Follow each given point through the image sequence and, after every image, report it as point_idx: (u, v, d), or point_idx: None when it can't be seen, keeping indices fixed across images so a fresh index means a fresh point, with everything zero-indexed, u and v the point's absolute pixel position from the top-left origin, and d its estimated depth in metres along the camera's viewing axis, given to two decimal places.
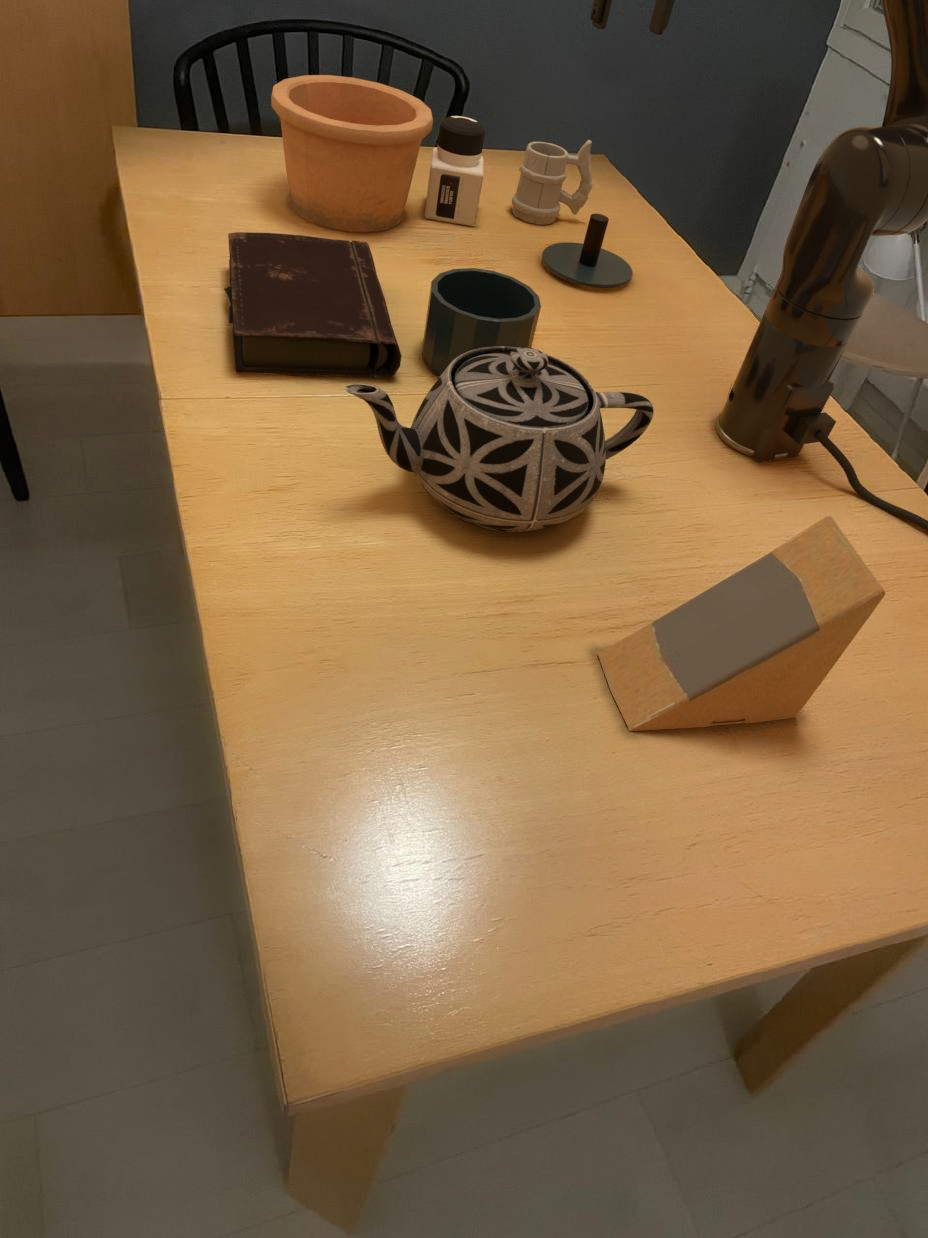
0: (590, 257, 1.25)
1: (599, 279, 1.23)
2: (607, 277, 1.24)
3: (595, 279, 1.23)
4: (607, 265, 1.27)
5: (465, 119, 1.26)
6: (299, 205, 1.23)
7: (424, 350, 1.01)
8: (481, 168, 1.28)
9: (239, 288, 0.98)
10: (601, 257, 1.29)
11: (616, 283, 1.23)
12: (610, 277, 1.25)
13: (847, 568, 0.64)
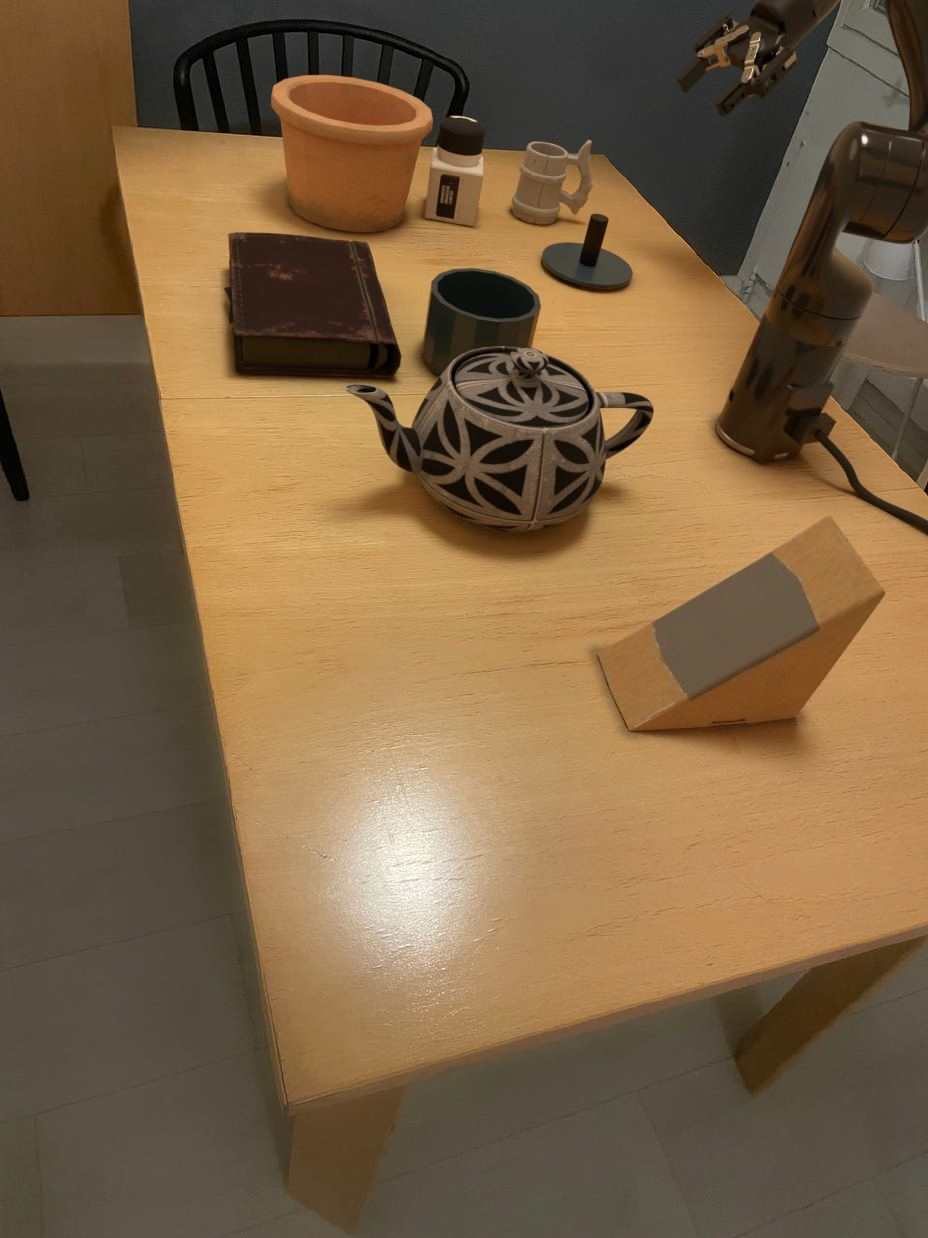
0: (590, 257, 1.25)
1: (599, 279, 1.23)
2: (607, 277, 1.24)
3: (595, 279, 1.23)
4: (607, 265, 1.27)
5: (465, 119, 1.26)
6: (299, 205, 1.23)
7: (424, 350, 1.01)
8: (481, 168, 1.28)
9: (239, 288, 0.98)
10: (601, 257, 1.29)
11: (616, 283, 1.23)
12: (610, 277, 1.25)
13: (847, 568, 0.64)
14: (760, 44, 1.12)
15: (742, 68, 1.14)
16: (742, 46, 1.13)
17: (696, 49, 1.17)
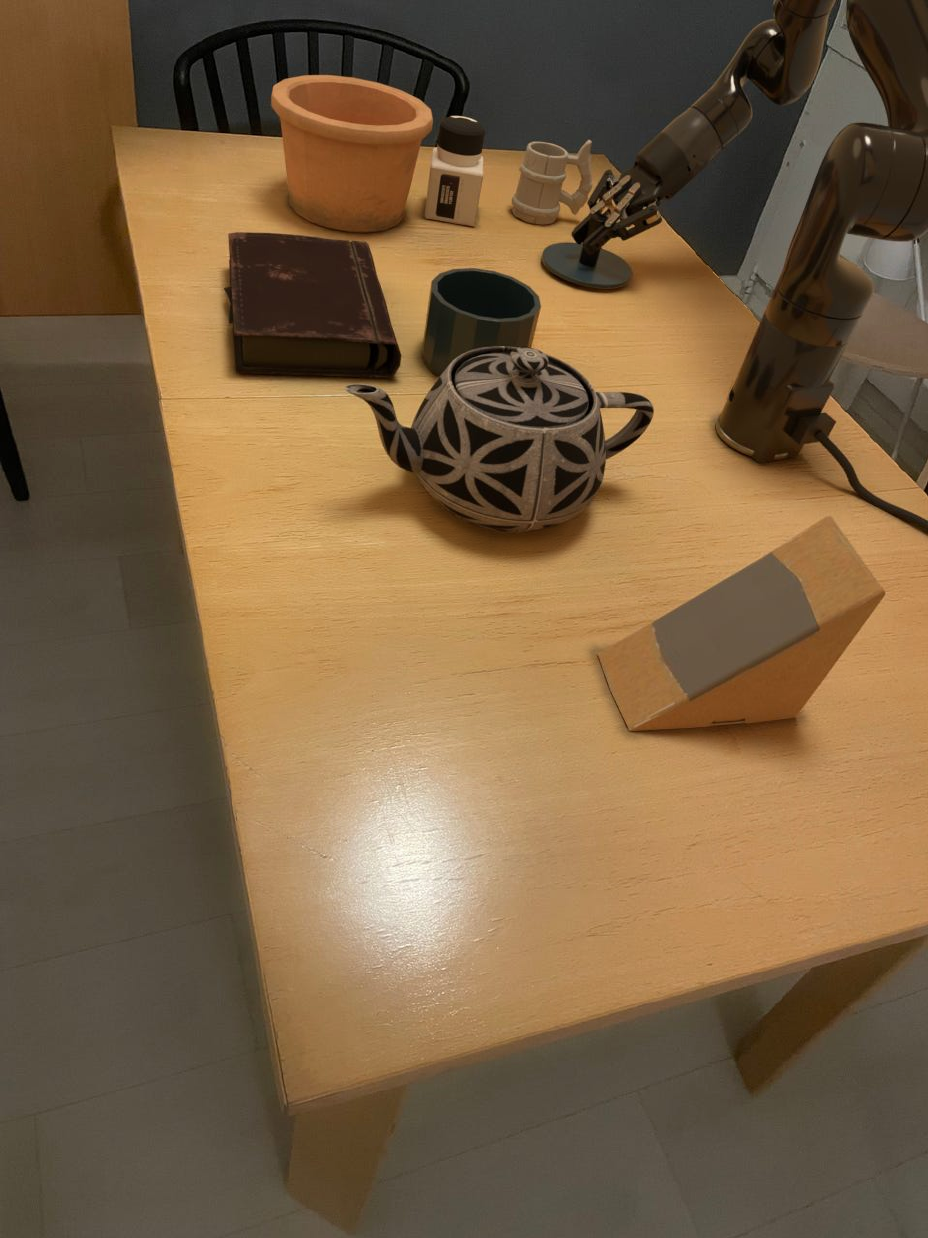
0: (590, 257, 1.25)
1: (599, 279, 1.23)
2: (607, 277, 1.24)
3: (595, 279, 1.23)
4: (607, 265, 1.27)
5: (465, 119, 1.26)
6: (299, 205, 1.23)
7: (424, 350, 1.01)
8: (481, 168, 1.28)
9: (239, 288, 0.98)
10: (601, 257, 1.29)
11: (616, 283, 1.23)
12: (610, 277, 1.25)
13: (847, 568, 0.64)
14: (640, 194, 1.20)
15: (625, 213, 1.22)
16: (625, 194, 1.21)
17: (589, 205, 1.24)
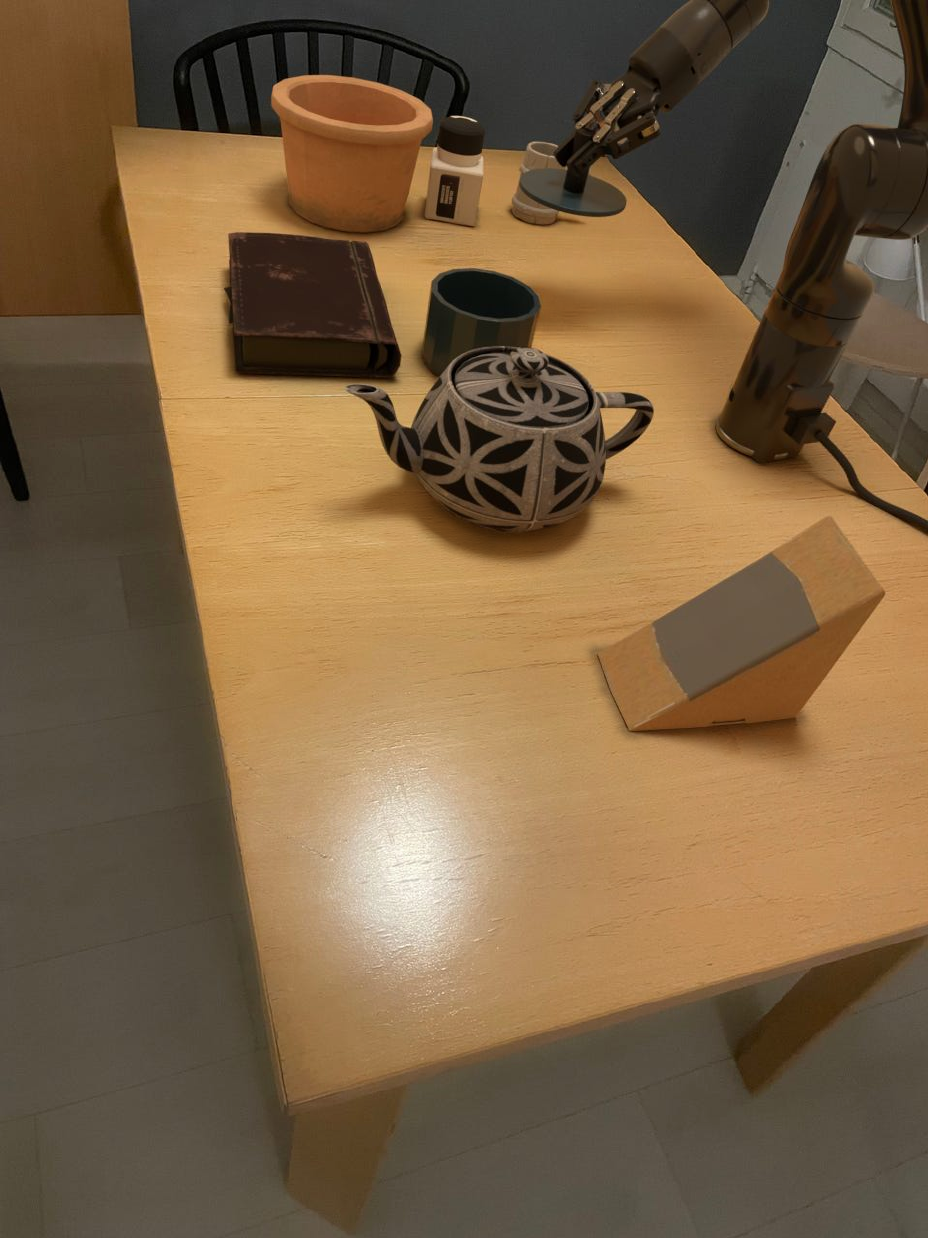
0: (576, 181, 1.06)
1: (586, 206, 1.04)
2: (596, 204, 1.05)
3: (582, 206, 1.04)
4: (596, 192, 1.08)
5: (465, 119, 1.26)
6: (299, 205, 1.23)
7: (424, 350, 1.01)
8: (481, 168, 1.28)
9: (239, 288, 0.98)
10: (590, 184, 1.10)
11: (607, 211, 1.04)
12: (600, 204, 1.05)
13: (847, 568, 0.64)
14: (634, 102, 1.00)
15: None
16: (616, 103, 1.02)
17: (575, 120, 1.05)
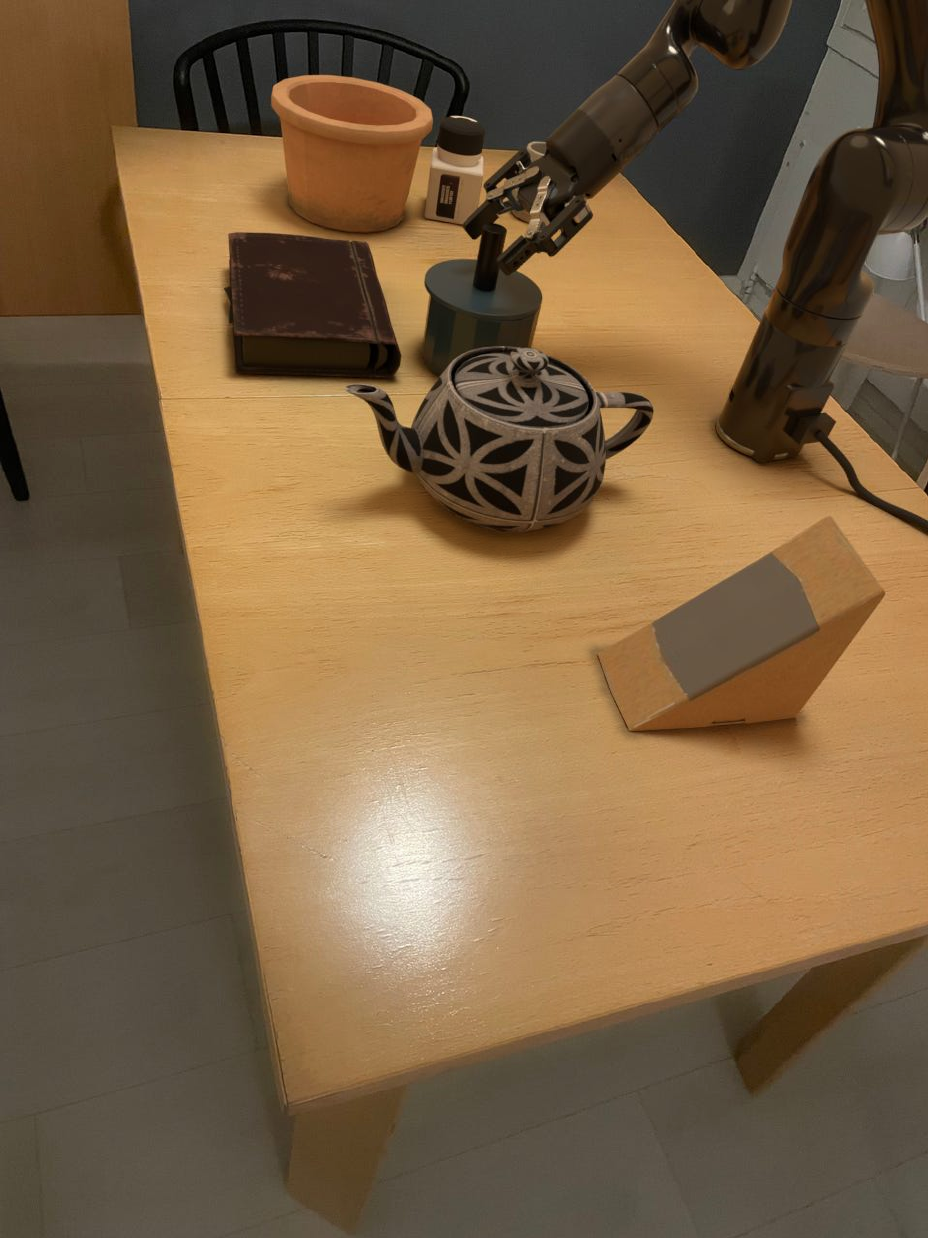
0: (485, 279, 0.96)
1: (495, 308, 0.95)
2: (507, 306, 0.96)
3: (490, 308, 0.95)
4: (510, 289, 0.99)
5: (465, 119, 1.26)
6: (299, 205, 1.23)
7: (424, 350, 1.01)
8: (481, 168, 1.28)
9: (239, 288, 0.98)
10: (504, 279, 1.00)
11: (517, 314, 0.95)
12: (511, 305, 0.96)
13: (847, 568, 0.64)
14: (550, 191, 0.90)
15: None
16: (532, 191, 0.92)
17: (486, 189, 0.96)
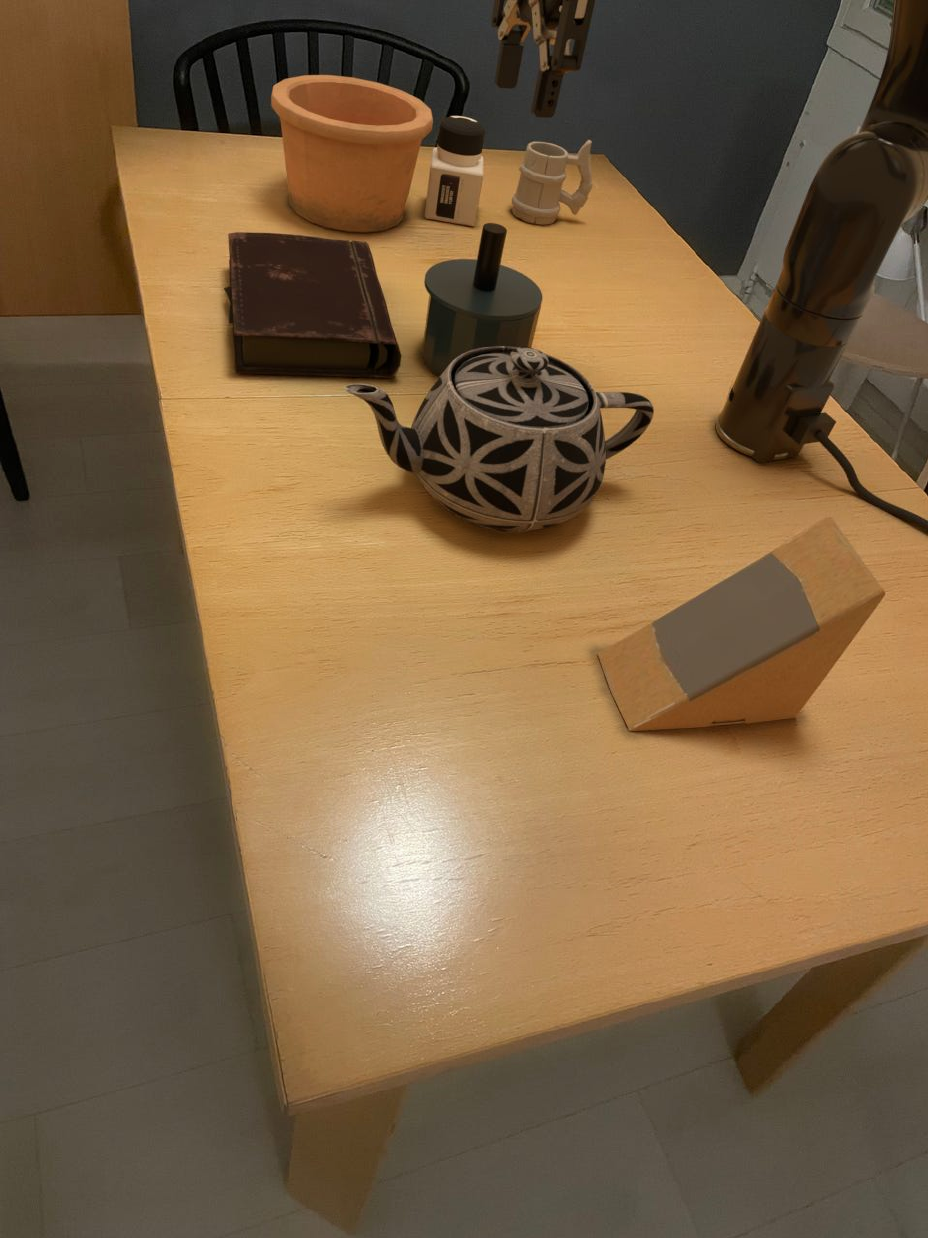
0: (485, 279, 0.96)
1: (495, 308, 0.95)
2: (507, 306, 0.96)
3: (490, 308, 0.95)
4: (510, 289, 0.99)
5: (465, 119, 1.26)
6: (299, 205, 1.23)
7: (424, 350, 1.01)
8: (481, 168, 1.28)
9: (239, 288, 0.98)
10: (504, 279, 1.00)
11: (517, 314, 0.95)
12: (511, 305, 0.96)
13: (847, 568, 0.64)
14: None
15: None
16: None
17: None
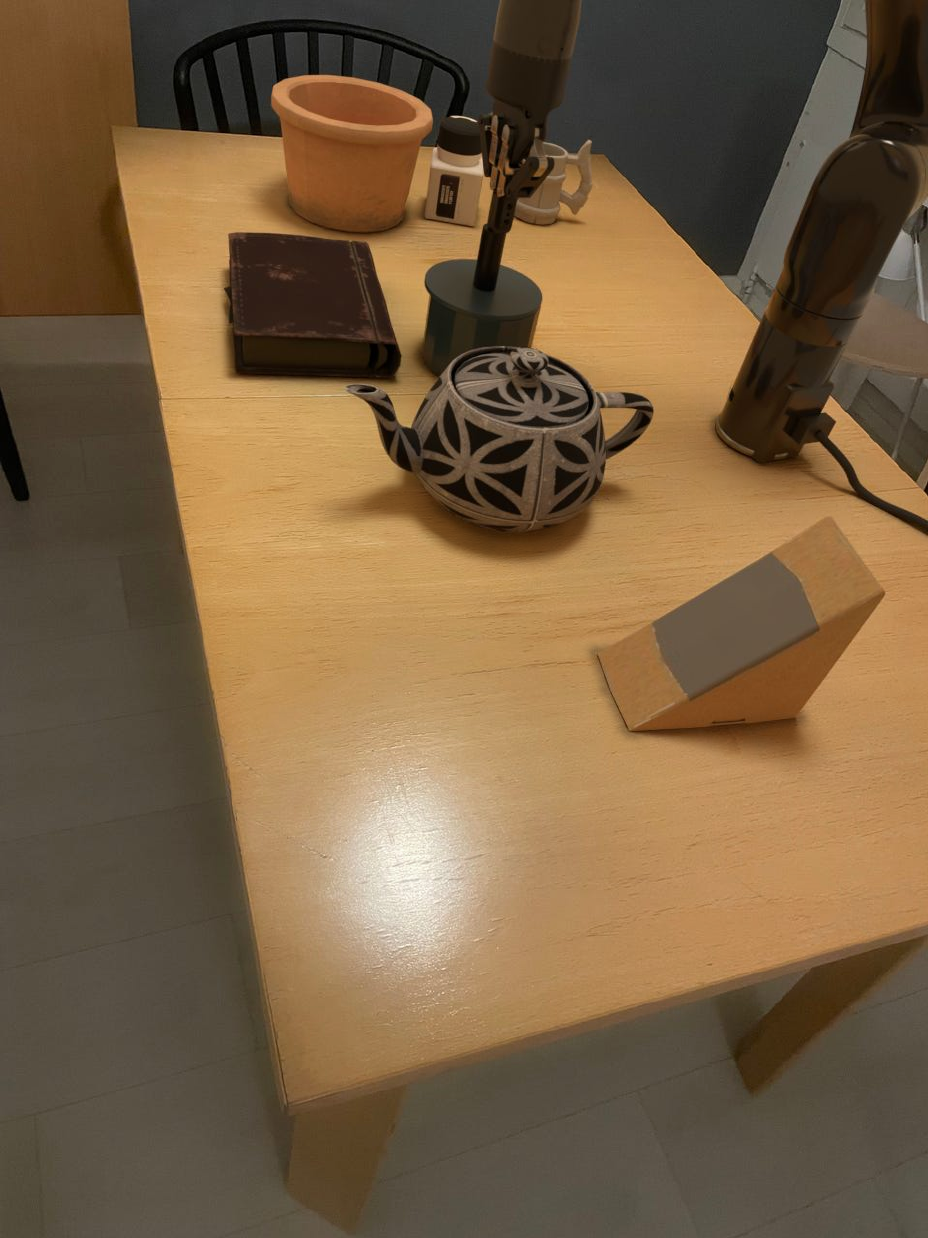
0: (485, 279, 0.96)
1: (495, 308, 0.95)
2: (507, 306, 0.96)
3: (490, 308, 0.95)
4: (510, 289, 0.99)
5: (465, 119, 1.26)
6: (299, 205, 1.23)
7: (424, 350, 1.01)
8: (481, 168, 1.28)
9: (239, 288, 0.98)
10: (504, 279, 1.00)
11: (517, 314, 0.95)
12: (511, 305, 0.96)
13: (847, 568, 0.64)
14: None
15: None
16: None
17: None
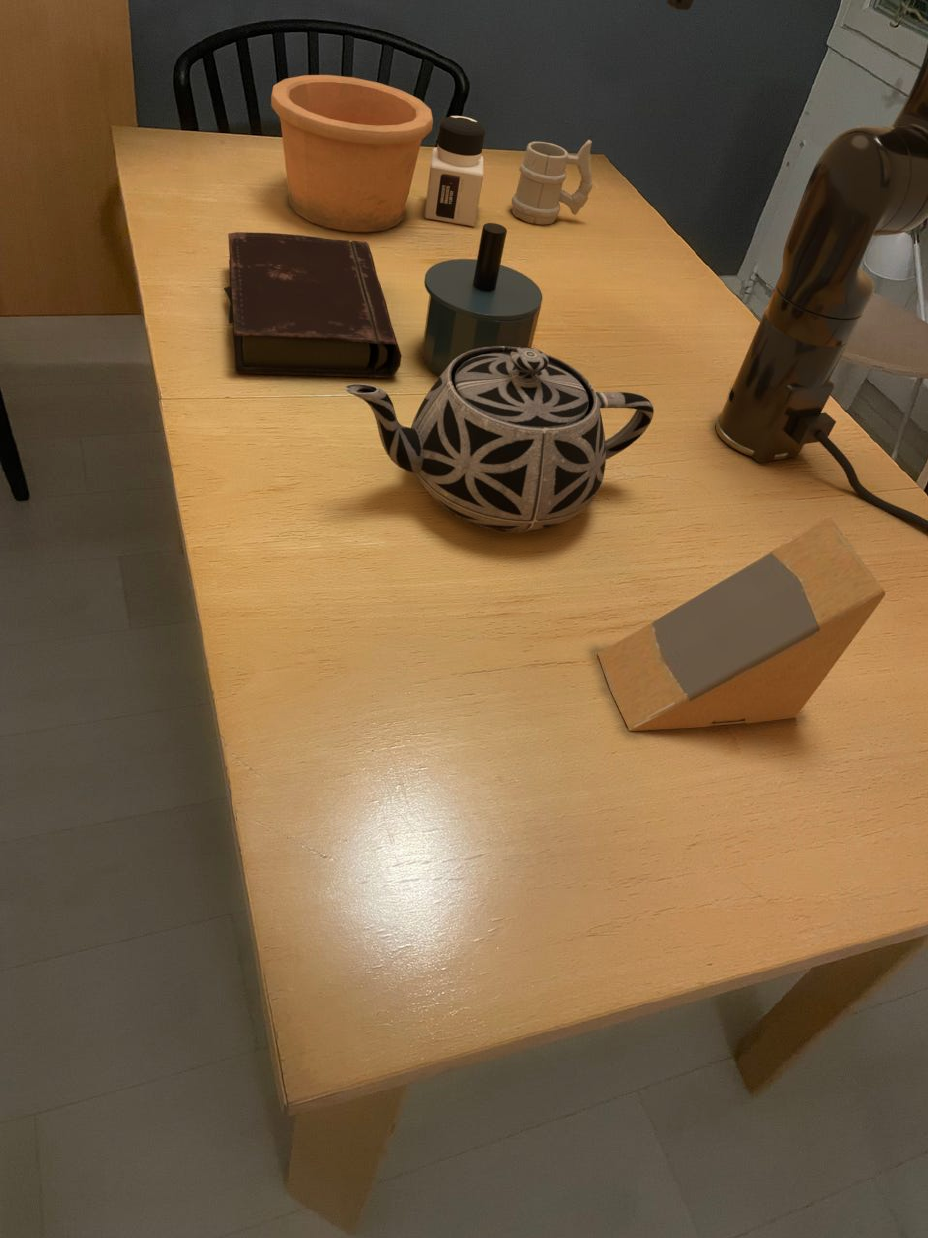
0: (485, 279, 0.96)
1: (495, 308, 0.95)
2: (507, 306, 0.96)
3: (490, 308, 0.95)
4: (510, 289, 0.99)
5: (465, 119, 1.26)
6: (299, 205, 1.23)
7: (424, 350, 1.01)
8: (481, 168, 1.28)
9: (239, 288, 0.98)
10: (504, 279, 1.00)
11: (517, 314, 0.95)
12: (511, 305, 0.96)
13: (847, 568, 0.64)
14: None
15: None
16: None
17: None
